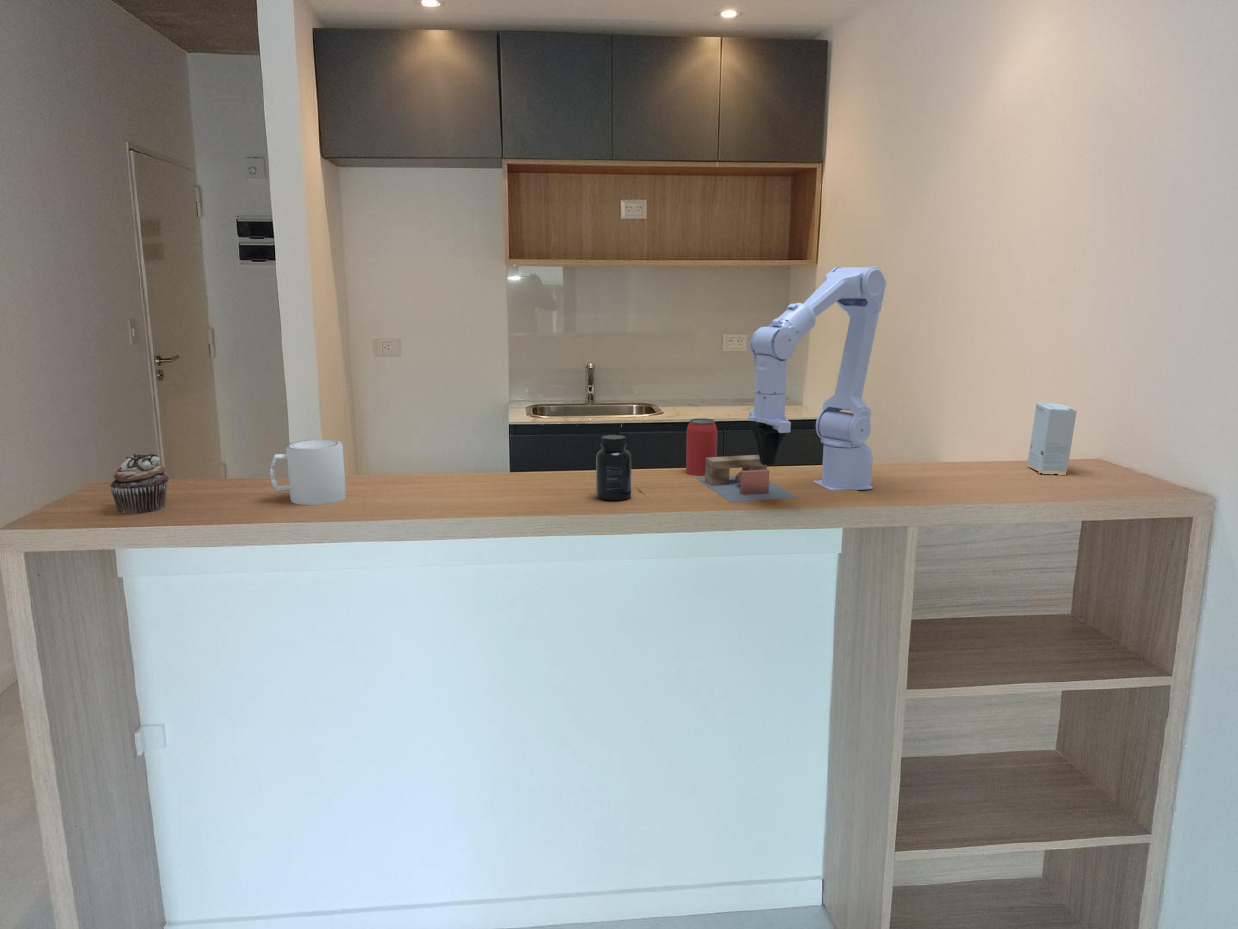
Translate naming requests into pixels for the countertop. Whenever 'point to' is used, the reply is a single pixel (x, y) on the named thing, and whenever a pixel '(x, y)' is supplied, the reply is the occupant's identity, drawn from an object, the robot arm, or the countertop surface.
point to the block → (721, 466)
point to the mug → (313, 472)
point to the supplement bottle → (613, 469)
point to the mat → (733, 494)
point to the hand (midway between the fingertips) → (767, 464)
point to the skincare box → (1051, 437)
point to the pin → (753, 481)
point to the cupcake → (140, 485)
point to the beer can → (700, 444)
